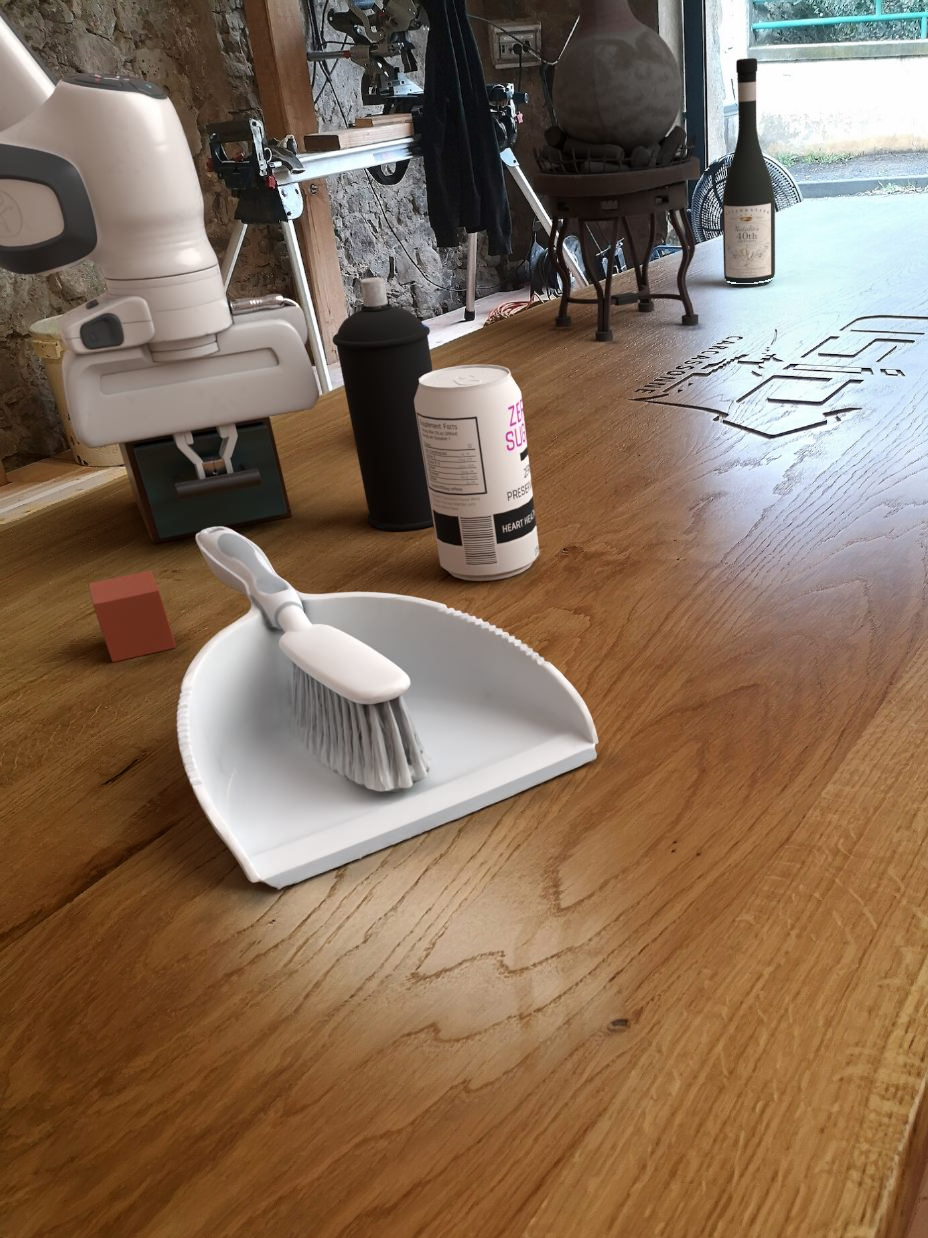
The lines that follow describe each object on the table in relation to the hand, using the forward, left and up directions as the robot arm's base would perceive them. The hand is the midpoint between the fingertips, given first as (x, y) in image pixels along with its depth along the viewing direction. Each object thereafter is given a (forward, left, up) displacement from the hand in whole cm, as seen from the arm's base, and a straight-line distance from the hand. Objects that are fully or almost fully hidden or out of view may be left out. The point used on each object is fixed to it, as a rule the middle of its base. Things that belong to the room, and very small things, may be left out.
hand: (216, 479), depth 108 cm
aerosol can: (+16, -3, -6) cm, 17 cm away
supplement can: (+18, -19, -6) cm, 27 cm away
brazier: (+66, +59, -6) cm, 89 cm away
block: (-10, -19, -6) cm, 22 cm away
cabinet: (0, +11, -6) cm, 12 cm away
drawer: (0, +6, -5) cm, 8 cm away
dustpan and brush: (-1, -39, -6) cm, 40 cm away
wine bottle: (+94, +73, -6) cm, 119 cm away
